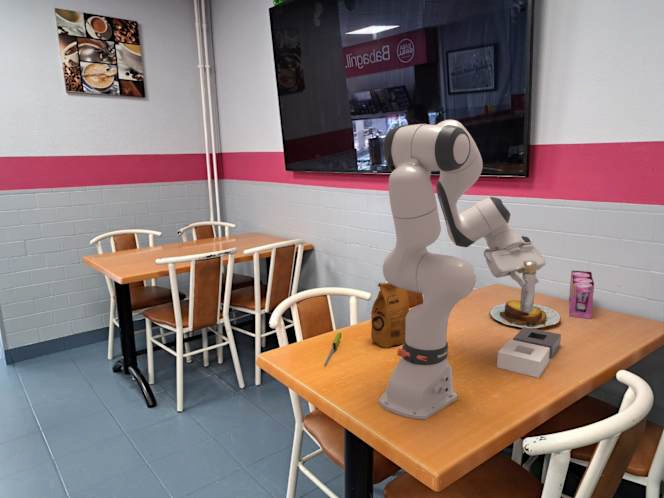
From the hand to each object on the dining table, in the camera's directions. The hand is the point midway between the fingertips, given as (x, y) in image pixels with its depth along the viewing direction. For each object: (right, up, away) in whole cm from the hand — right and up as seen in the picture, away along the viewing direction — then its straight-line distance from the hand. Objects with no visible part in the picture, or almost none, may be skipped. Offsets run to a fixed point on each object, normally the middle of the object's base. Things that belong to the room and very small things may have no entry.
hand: (530, 284), depth 138 cm
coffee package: (-38, -22, +26) cm, 51 cm away
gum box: (+43, -15, +54) cm, 71 cm away
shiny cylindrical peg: (0, -8, +2) cm, 8 cm away
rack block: (0, -25, +6) cm, 26 cm away
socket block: (+10, -23, +18) cm, 31 cm away
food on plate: (+16, -17, +45) cm, 51 cm away
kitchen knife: (-58, -25, +16) cm, 65 cm away
